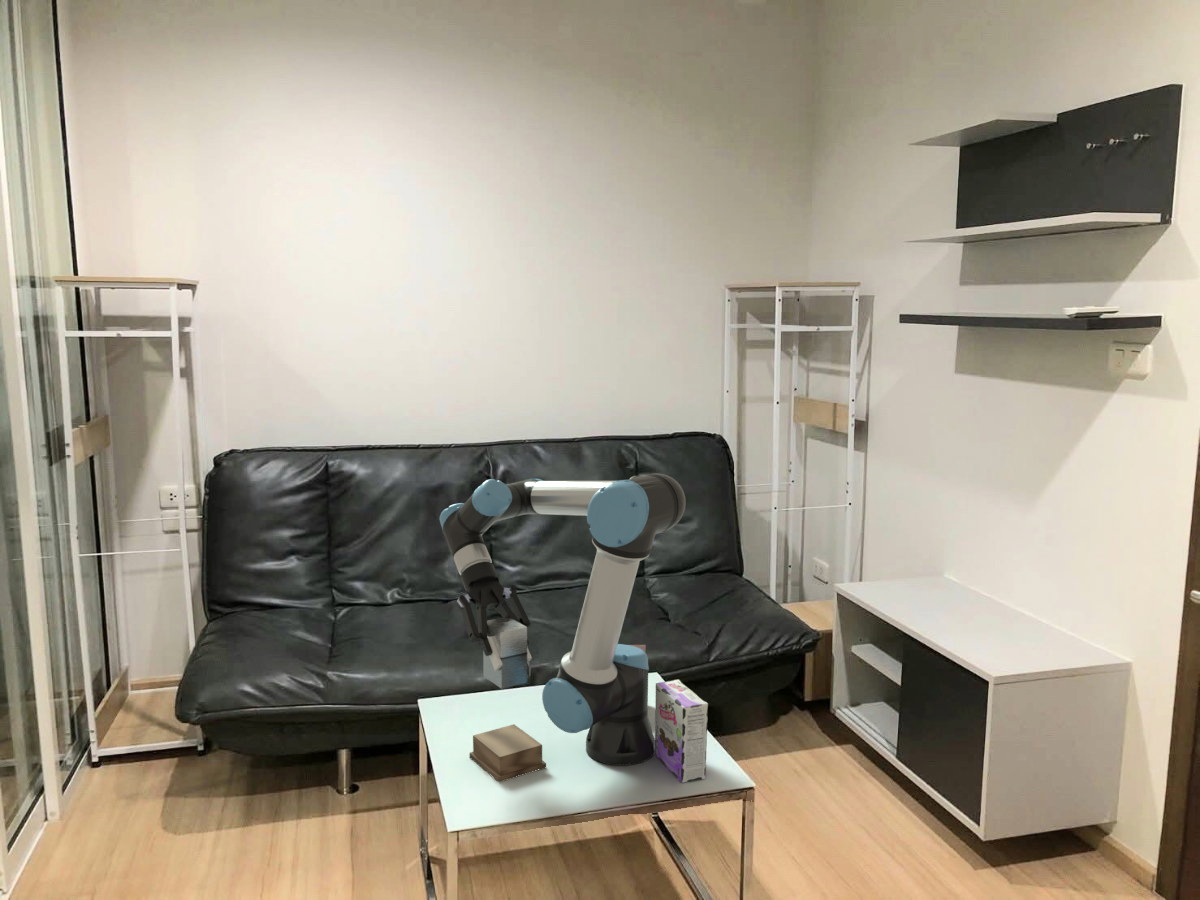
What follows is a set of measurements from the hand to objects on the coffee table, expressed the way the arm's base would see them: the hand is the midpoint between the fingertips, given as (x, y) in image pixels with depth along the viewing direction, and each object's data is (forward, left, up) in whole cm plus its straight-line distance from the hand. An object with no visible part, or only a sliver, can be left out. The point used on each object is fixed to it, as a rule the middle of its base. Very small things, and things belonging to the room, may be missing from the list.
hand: (513, 664), depth 196 cm
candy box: (-27, -21, -23) cm, 42 cm away
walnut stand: (+3, -1, -23) cm, 23 cm away
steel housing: (+3, -1, -4) cm, 6 cm away
